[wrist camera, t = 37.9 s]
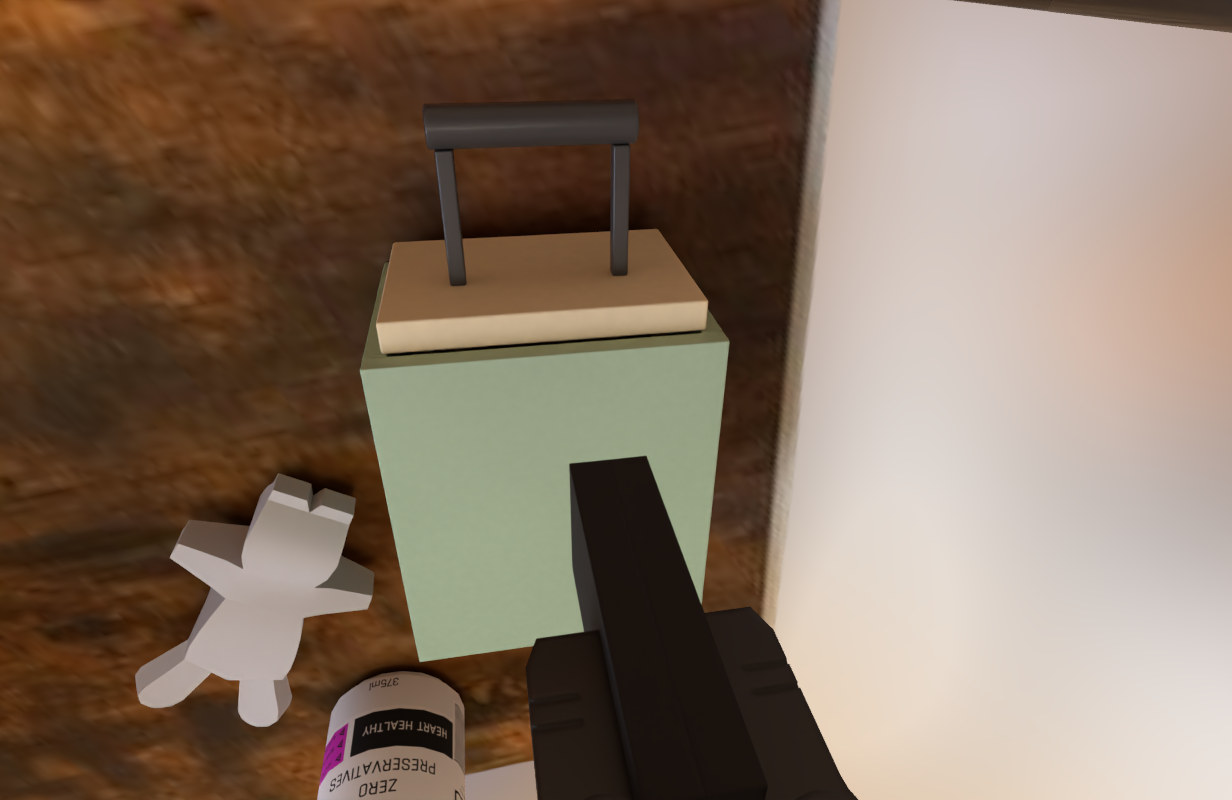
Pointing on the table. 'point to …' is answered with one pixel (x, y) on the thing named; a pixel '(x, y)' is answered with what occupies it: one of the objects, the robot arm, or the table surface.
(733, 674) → the robot arm
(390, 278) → the drawer
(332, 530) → the bunny figurine
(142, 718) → the table surface
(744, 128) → the table surface
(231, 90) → the table surface
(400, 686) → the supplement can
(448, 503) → the cabinet
